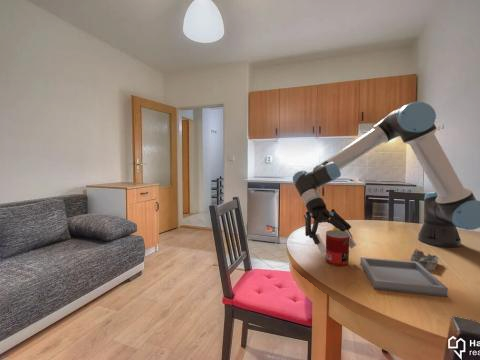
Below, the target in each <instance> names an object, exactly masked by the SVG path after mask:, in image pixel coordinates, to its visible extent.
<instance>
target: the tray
mask: <svg viewBox="0 0 480 360" xmlns="http://www.w3.org/2000/svg"><path fill="white" fill-rule="evenodd" d="M359 263H360V266H361V268H362V269H363V271H364V273H365V274H366V277H367V279H368V280H369V282H370V284H371V285H372V287H373V289H374V290H379V291H380V290H381V291H388V292H389V291H391V292H397V293H398V292H399V293H407V294H416V295H425V296H437V297H443V298H448V294H449V293H448V291H449V289H448V287H447V286H446V285H445V284H443V283H442V282H441V281H440V280H439V279H438V278H437V277H435V276H434V275H433V274H432V273H431V272H430V271H429V270H426V269H425V268H424V267H423V266H422V265H421V264H419V263H418V262H414V261H411V260H400V259H386V258H375V257H374V258H373V257H362V256H361V257H360V261H359Z"/></svg>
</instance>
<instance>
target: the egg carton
mask: <svg viewBox="0 0 480 360" xmlns="http://www.w3.org/2000/svg"><path fill="white" fill-rule="evenodd" d="M439 259H440V255H435V254H430V253H428V254H424V251H422V250H419V249H418V248H415V249H414V251H413V253H412V255H410V260H409V261H414V262H418V263H419V264H421V265H422V266H423V267H424V268H425V269H426V270H428V271H429V272H430V271H436V268H437V265H438V261H439Z"/></svg>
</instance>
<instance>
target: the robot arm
mask: <svg viewBox="0 0 480 360" xmlns="http://www.w3.org/2000/svg"><path fill="white" fill-rule="evenodd" d="M436 119H437V114H436V111H435V109H434V108H433V106H432V105H431V104H428V103H427V102H424V101H422V102H421V101H413V102H411V103H410V102H409V103H407V104H404V105H403V106H401V107H399V108H396V109H395V110H393V111H391V112H390V113H388V114H387V115H386V116H385V117H384V118H383V119H381V120H380V121H378V122H377V123H376V124H374V125H373V126H372V129H371V130H370V131H368V132H366V133H365V134H363V135H362V136H360V137H359V138H358V139H356V140H354V141H353V142H352V143H350V144H349V145H347V146H345V147H344V148H343V149H341V150H339V151H338V152H337V153H335V154H333V155H332V156H331V157H329V158H327V159H326V160H325V161H323V162H321V163H320V164H318V165H316V166H314V167H313V170H312V171H309V172H307V171H306V170H299V171H297V172H295V173H294V175H293V176H292V182H293V184H294V187H295V189H296V190H297V192H298V194H299V197H301V198H300V199H301V200H302V203H303V204H304V206H305V208H306V210H307V211H306V212H305V213H304V214H303V217H304V219H305V220H304V221H305V223H304V224H305V225H304V227H305V230H304V231H305V236H306V237H309V238H310V239H312V240H313V242H314V244H315V245H316V246H317V248H318V250H319V252H320V254H322V255H323V254H325V253H326V245H325V244H324V242H323V239H322V237H321V236H320V234H319V233H317V231H318V227H319V224H322V223H327V224H331V225H332V226H333V227H334V226H335V227H336V228H338V229H339V230H341V231H344V232H347V233H348V234H349V249H351V250H352V249H354V247H356V246H357V243H356V242H355V240H354V239H353V235H352V233H351V232H350V229H352V226H351V224H349V223H348V222H347V221H346V220H345V219H344V218H343V217H342V216H340V214H338V213H337V211H336V210H335V209H334V208H332V209H331V210H328V209H327V204H326V203H325V200H324V199H323V198H322V195H321V194H320V192H319V191H318V188H319V187H322V186H325V185H326V184H329V183H330V182H332V181H333V182H334V181H335V180H337V179H339V178H340V177H341V176H342V174H341V171H340V170H343V169H344V168H346V167H347V166H349V165H351V164H352V163H353V162H355V161H356V160H358V159H359V158H361V157H363V156H364V155H365V154H368V153H369V152H371V150H373V149H376V148H377V147H378V146H380V145H381V144H382V143H385V144H387V143H388V142H390V141H391V140H393V139H396V138H399V137H400V139H401V140H402V142H403V143H404V144H407V145H409V146H410V148H411V149H412V151H413V153H414V155H415V156H416V158H417V160H418V162H419V164H420V166H421V167H422V169H423V171H424V173H425V175H426V177H427V178H428V180H429V182H430V184H431V185H432V188H433V190H434V191H429V192H428V191H427V192H426V193H425V194H424V198H423V201H424V204H423V205H424V206H423V224H422V226H421V228H420V230H419V232H418V235H417V239H418V241H420V242H421V243H425V244H428V245H432V246H437V247H442V248H444V247H445V248H458V247H461V245H462V240H461V237H460V234H459V231H458V229H463V230H467V231H468V230H469V231H474V230H477V229H479V228H480V200H477V198H476V197H475V194H474V193H473V192H472V190H471V189H470V188H465V187H464V186H463V184H462V181H461V180H460V178H459V177H458V175H457V173H456V171H455V170H454V167H453V166H452V163H451V162H450V160H449V158H448V157H447V155H446V153H445V151H444V149H443V148H442V145H441V143H440V142H439V139H438V138H437V136H436V131H437V129H438V127H437V126H436V124H435V122H436ZM312 219H313V221H312ZM343 228H344V229H343Z"/></svg>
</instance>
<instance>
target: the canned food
mask: <svg viewBox="0 0 480 360" xmlns="http://www.w3.org/2000/svg"><path fill="white" fill-rule="evenodd" d="M325 248H326V251H325V261H326V262H327V263H328V264H330V265H333V266H337V267H346V266H347V265H348V264H349V261H350V260H349V259H350V256H349V255H350V253H349V252H350V246H349V234H348V233H347V232H344V231H338V230H333V229H331V230H326V233H325Z"/></svg>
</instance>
